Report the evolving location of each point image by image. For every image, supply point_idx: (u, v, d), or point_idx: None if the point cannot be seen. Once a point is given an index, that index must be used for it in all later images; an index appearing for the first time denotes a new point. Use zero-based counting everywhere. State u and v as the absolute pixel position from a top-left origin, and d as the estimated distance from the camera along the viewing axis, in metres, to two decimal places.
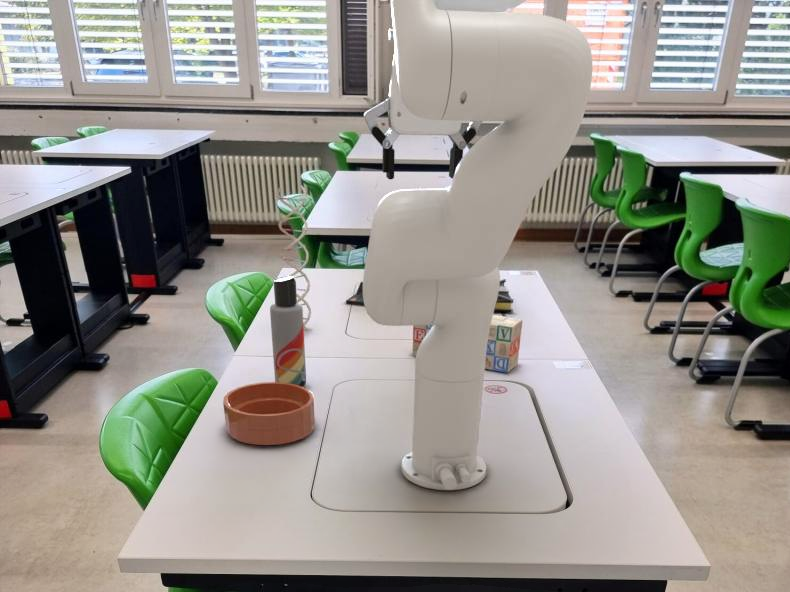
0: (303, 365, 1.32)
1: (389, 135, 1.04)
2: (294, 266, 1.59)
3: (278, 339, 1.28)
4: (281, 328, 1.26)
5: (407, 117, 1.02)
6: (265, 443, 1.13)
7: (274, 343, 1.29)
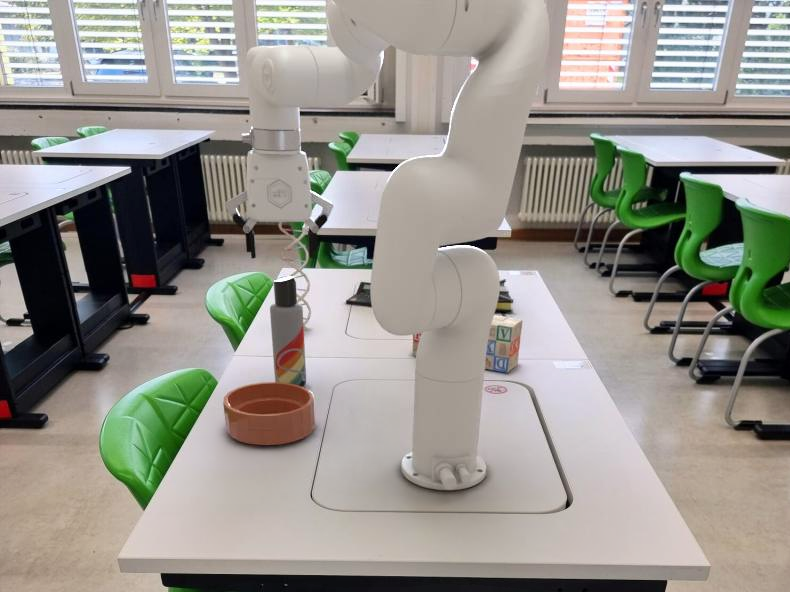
0: (303, 365, 1.32)
1: (248, 222, 1.18)
2: (294, 266, 1.59)
3: (278, 339, 1.28)
4: (281, 328, 1.26)
5: (261, 208, 1.16)
6: (265, 443, 1.13)
7: (274, 343, 1.29)
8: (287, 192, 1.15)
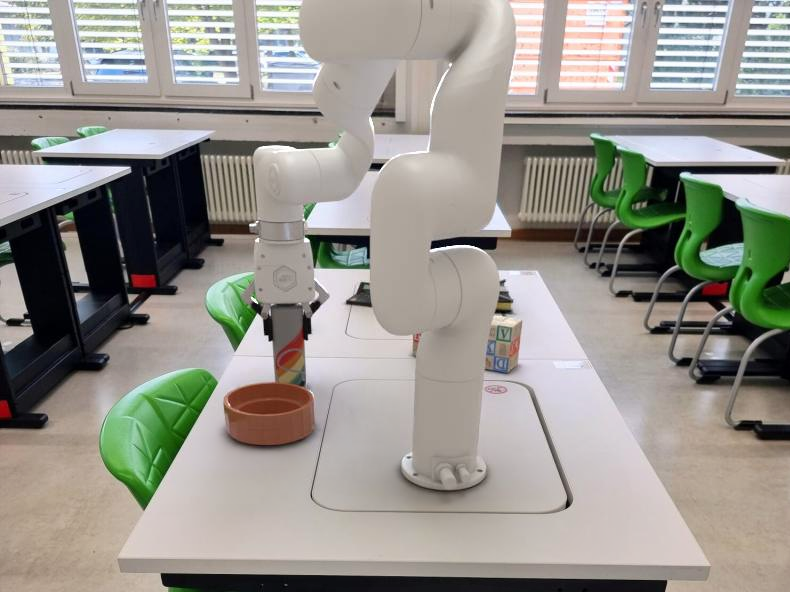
0: (303, 365, 1.32)
1: (263, 309, 1.25)
2: None
3: (278, 339, 1.28)
4: (281, 328, 1.26)
5: (268, 291, 1.23)
6: (265, 443, 1.13)
7: (274, 343, 1.29)
8: (292, 277, 1.22)
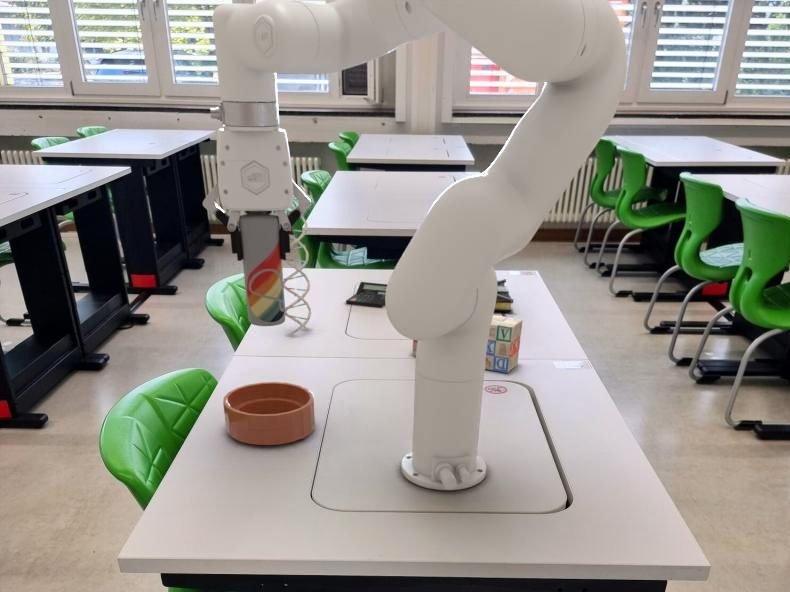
0: (281, 291, 1.09)
1: (230, 218, 1.03)
2: (294, 266, 1.59)
3: (249, 257, 1.05)
4: (252, 242, 1.04)
5: (235, 194, 1.00)
6: (265, 443, 1.13)
7: (245, 262, 1.06)
8: (264, 176, 0.99)
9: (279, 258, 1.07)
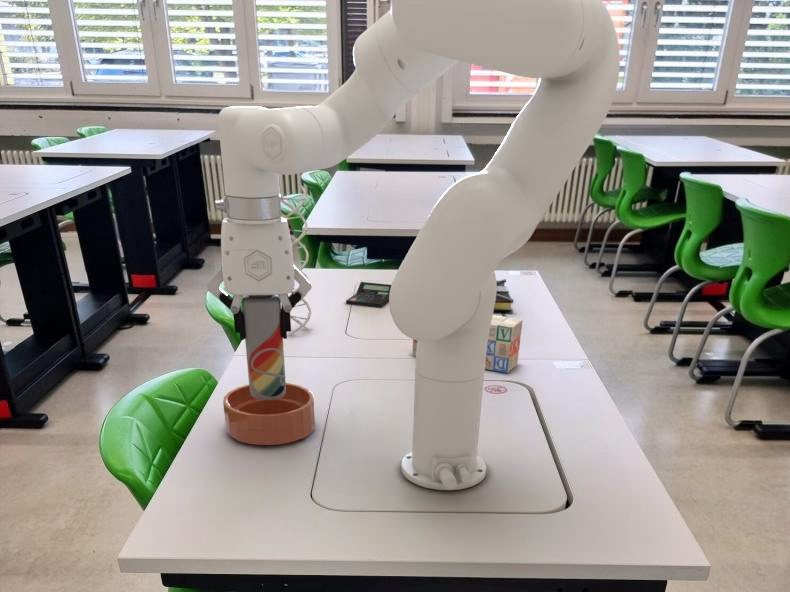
0: (282, 367, 1.13)
1: (233, 301, 1.07)
2: None
3: (252, 337, 1.09)
4: (255, 324, 1.08)
5: (238, 281, 1.04)
6: (265, 443, 1.13)
7: (247, 341, 1.10)
8: (266, 264, 1.03)
9: (280, 337, 1.11)
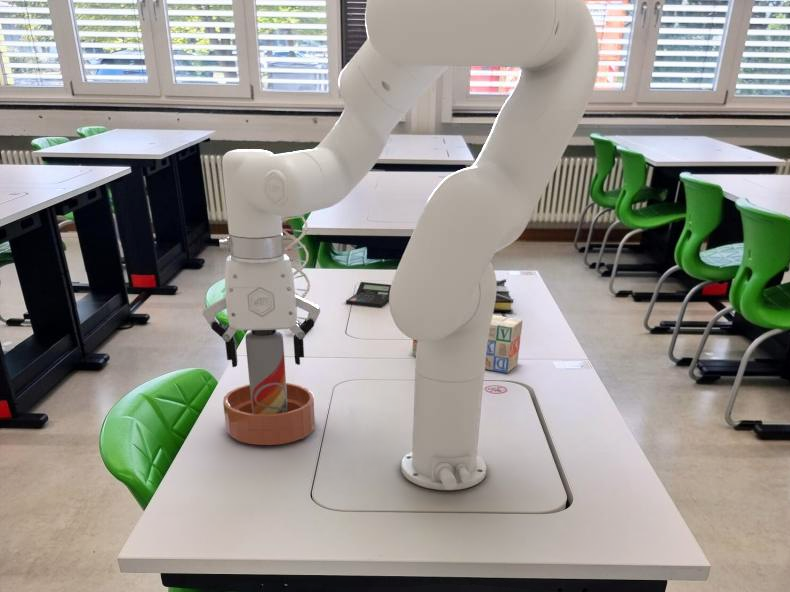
0: (284, 401, 1.16)
1: (228, 330, 1.09)
2: (294, 266, 1.59)
3: (255, 372, 1.12)
4: (258, 360, 1.11)
5: (242, 316, 1.07)
6: (265, 443, 1.13)
7: (251, 376, 1.13)
8: (269, 300, 1.06)
9: (283, 372, 1.13)
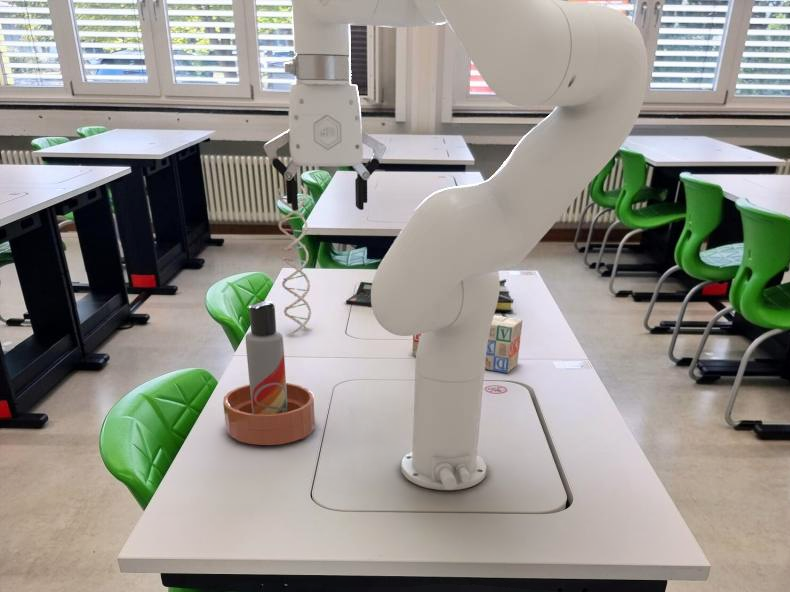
0: (284, 401, 1.16)
1: (290, 167, 1.03)
2: (294, 266, 1.59)
3: (255, 372, 1.12)
4: (258, 360, 1.11)
5: (306, 149, 1.01)
6: (265, 443, 1.13)
7: (251, 376, 1.13)
8: (336, 130, 1.00)
9: (283, 372, 1.13)
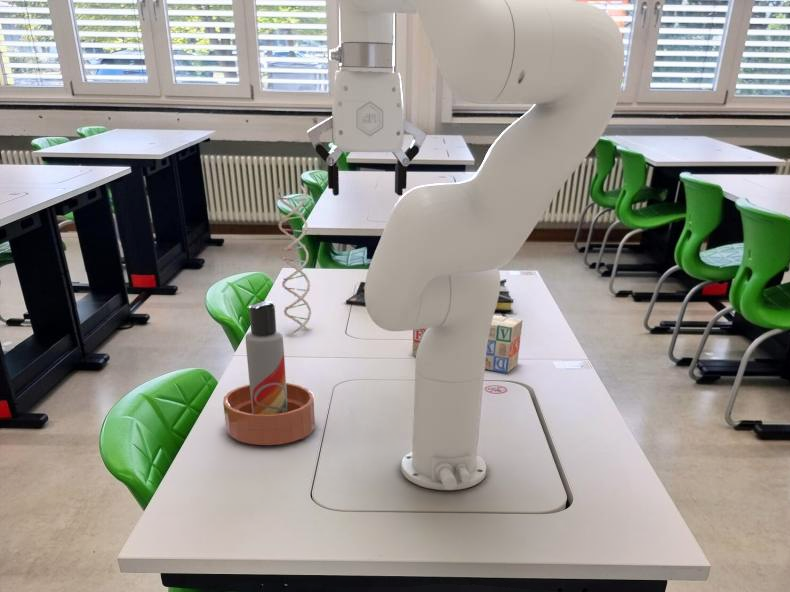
0: (284, 401, 1.16)
1: (332, 152, 1.06)
2: (294, 266, 1.59)
3: (255, 372, 1.12)
4: (258, 360, 1.11)
5: (349, 135, 1.03)
6: (265, 443, 1.13)
7: (251, 376, 1.13)
8: (378, 117, 1.03)
9: (283, 372, 1.13)
